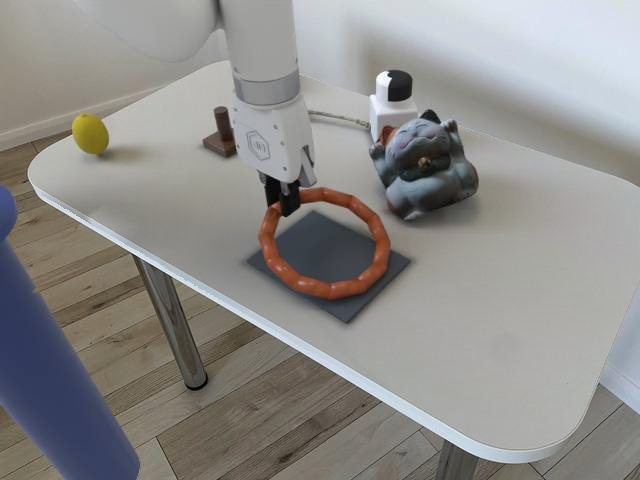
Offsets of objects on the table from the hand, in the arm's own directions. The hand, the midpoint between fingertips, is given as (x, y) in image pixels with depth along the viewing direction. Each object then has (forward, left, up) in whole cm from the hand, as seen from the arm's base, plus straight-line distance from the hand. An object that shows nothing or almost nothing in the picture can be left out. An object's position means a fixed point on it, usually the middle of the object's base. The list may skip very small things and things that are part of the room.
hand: (284, 207), depth 76 cm
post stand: (+12, +26, -6) cm, 29 cm away
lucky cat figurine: (+20, -10, -6) cm, 23 cm away
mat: (0, -8, -6) cm, 10 cm away
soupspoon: (+27, +19, -6) cm, 34 cm away
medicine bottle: (+31, +4, -6) cm, 32 cm away
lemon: (-4, +42, -6) cm, 43 cm away
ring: (0, -7, -2) cm, 8 cm away
